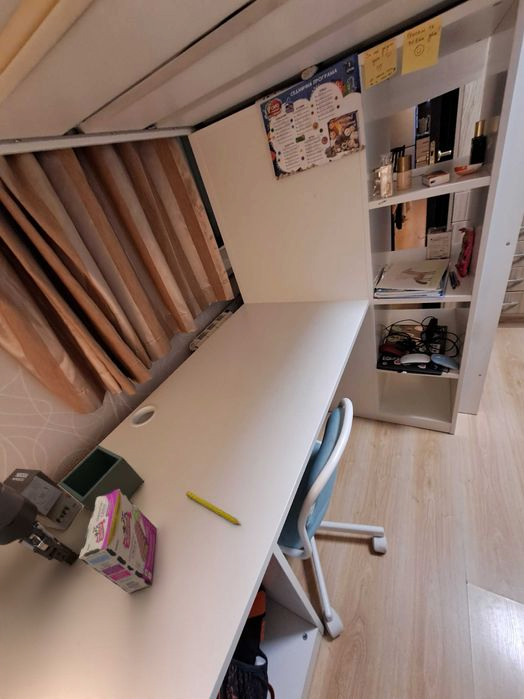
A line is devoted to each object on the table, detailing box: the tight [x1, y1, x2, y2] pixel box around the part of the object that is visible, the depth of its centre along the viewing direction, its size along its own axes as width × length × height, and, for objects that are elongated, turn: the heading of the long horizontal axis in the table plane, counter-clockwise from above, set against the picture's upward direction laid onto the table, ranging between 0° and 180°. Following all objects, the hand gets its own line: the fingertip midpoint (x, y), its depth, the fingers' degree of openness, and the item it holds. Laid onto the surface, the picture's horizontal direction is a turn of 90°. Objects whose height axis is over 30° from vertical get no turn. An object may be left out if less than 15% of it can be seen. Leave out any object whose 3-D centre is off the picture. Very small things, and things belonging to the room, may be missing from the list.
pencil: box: [185, 490, 241, 525], centre depth 65 cm, size 16×1×1 cm, turn 58°
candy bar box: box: [78, 489, 157, 594], centre depth 56 cm, size 11×5×16 cm, turn 13°
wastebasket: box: [57, 444, 145, 513], centre depth 73 cm, size 12×12×10 cm
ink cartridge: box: [45, 534, 80, 567], centre depth 63 cm, size 5×2×8 cm, turn 67°
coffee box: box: [2, 467, 83, 531], centre depth 70 cm, size 9×6×16 cm
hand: (59, 550), depth 63 cm, fingers closed on ink cartridge, 5 cm apart
